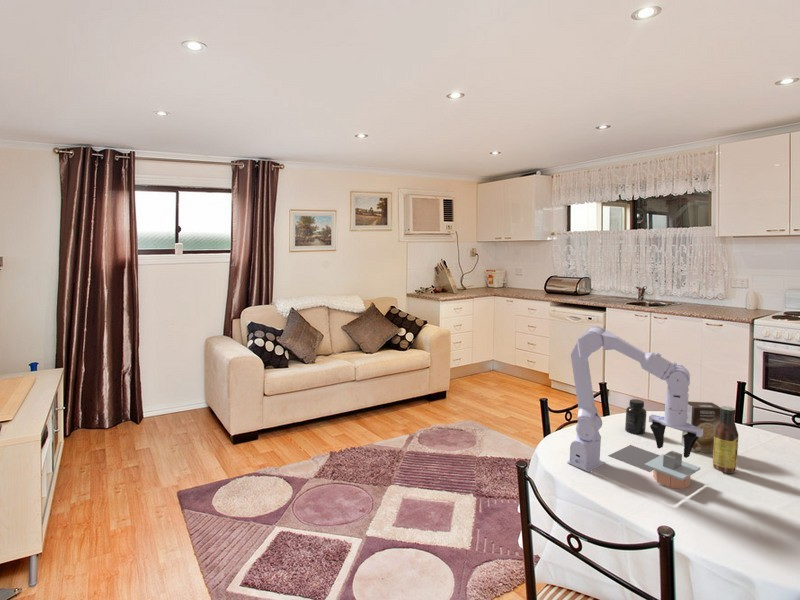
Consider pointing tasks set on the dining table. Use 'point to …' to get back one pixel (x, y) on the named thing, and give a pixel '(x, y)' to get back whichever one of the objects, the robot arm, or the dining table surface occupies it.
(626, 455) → the mat
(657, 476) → the bowl
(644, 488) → the dining table surface
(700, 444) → the coffee box
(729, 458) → the sauce bottle
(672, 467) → the cover
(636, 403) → the supplement bottle
